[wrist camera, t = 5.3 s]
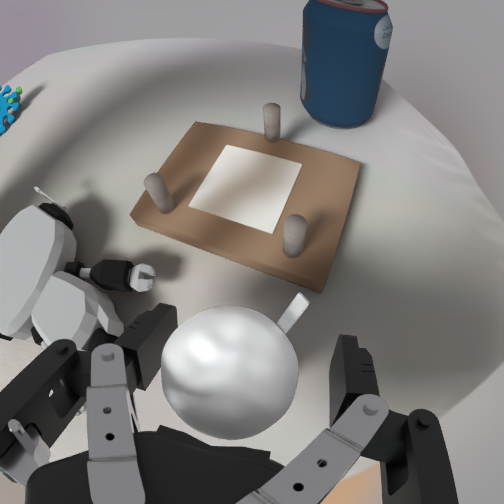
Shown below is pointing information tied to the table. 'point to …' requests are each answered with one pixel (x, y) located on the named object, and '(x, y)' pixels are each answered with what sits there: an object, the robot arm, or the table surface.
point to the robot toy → (58, 283)
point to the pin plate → (252, 199)
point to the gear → (8, 105)
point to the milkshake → (232, 370)
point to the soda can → (343, 59)
